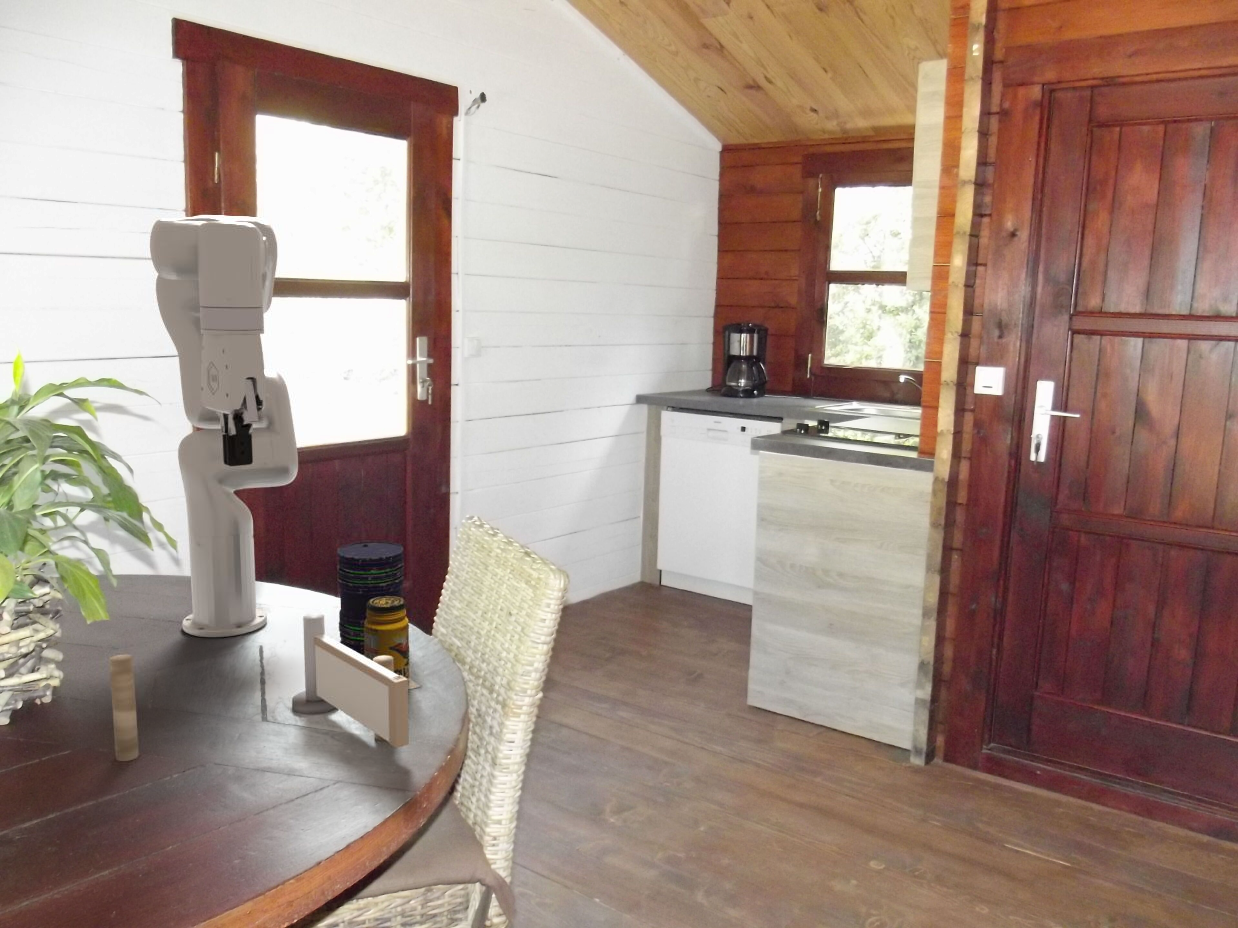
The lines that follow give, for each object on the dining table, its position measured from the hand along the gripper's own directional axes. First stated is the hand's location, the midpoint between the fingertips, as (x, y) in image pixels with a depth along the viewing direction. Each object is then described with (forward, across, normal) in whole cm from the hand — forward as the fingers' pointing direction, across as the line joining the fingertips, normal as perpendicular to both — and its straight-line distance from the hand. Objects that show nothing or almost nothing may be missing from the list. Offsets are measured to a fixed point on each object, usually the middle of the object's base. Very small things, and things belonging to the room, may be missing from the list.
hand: (238, 464), depth 133 cm
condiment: (+31, +9, +15) cm, 36 cm away
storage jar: (+31, -6, +22) cm, 39 cm away
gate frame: (+31, +16, -6) cm, 35 cm away
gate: (+30, +20, +5) cm, 36 cm away
